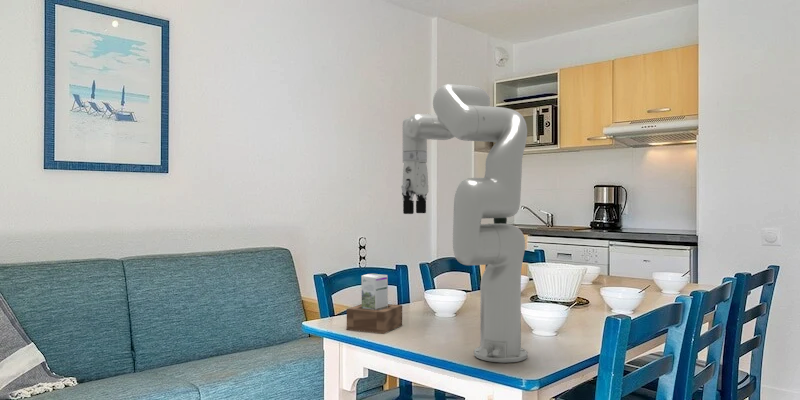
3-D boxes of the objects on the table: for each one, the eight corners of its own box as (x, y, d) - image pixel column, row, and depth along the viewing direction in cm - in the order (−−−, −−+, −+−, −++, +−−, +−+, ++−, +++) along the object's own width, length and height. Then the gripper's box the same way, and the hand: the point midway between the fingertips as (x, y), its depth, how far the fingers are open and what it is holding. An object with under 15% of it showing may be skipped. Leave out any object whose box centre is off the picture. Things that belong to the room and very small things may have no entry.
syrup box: (388, 324, 174) (388, 274, 174) (375, 327, 170) (375, 276, 169) (374, 321, 178) (374, 272, 178) (360, 324, 173) (360, 274, 173)
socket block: (383, 333, 166) (383, 312, 166) (346, 329, 171) (346, 308, 171) (402, 325, 177) (402, 305, 177) (366, 321, 182) (366, 302, 182)
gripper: (414, 155, 174) (415, 214, 174) (436, 159, 190) (436, 213, 190) (391, 156, 177) (391, 214, 177) (414, 160, 193) (414, 212, 193)
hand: (414, 213), depth 183 cm, fingers open, 9 cm apart
